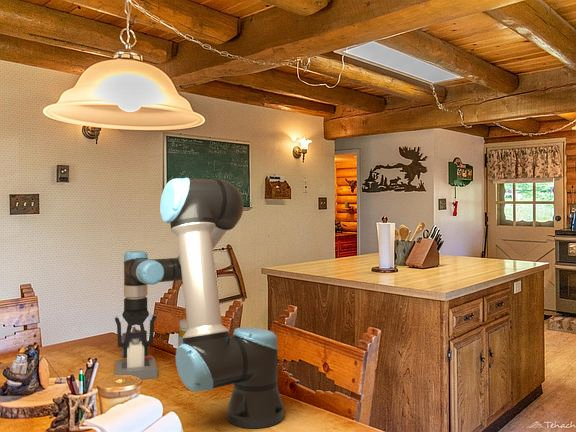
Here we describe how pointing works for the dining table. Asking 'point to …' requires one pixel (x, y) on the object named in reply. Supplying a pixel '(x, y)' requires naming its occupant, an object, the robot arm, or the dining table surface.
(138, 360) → the cream rectangular container
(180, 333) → the bottle
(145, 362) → the socket
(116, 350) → the dining table surface
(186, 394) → the dining table surface
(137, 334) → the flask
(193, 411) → the dining table surface
